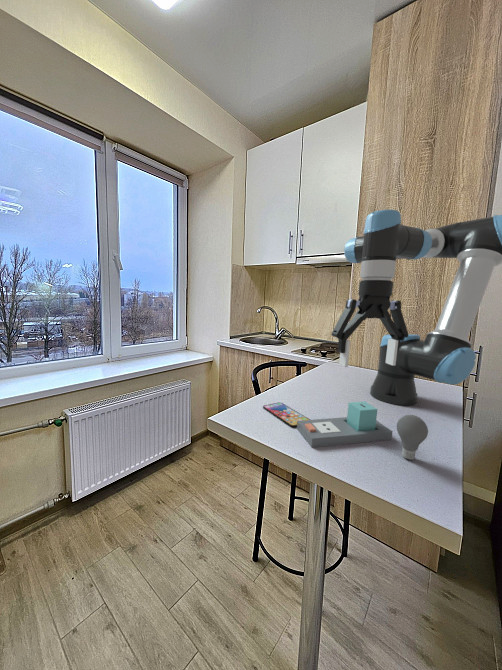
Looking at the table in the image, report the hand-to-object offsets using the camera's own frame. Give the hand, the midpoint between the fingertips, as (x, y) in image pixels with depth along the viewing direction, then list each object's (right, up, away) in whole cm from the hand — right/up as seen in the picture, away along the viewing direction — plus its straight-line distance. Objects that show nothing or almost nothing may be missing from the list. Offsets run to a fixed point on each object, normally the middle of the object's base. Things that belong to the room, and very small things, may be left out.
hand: (367, 365), depth 69 cm
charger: (-1, -18, +3) cm, 18 cm away
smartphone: (-19, -17, +12) cm, 28 cm away
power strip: (-6, -18, +2) cm, 19 cm away
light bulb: (+6, -20, -8) cm, 22 cm away
